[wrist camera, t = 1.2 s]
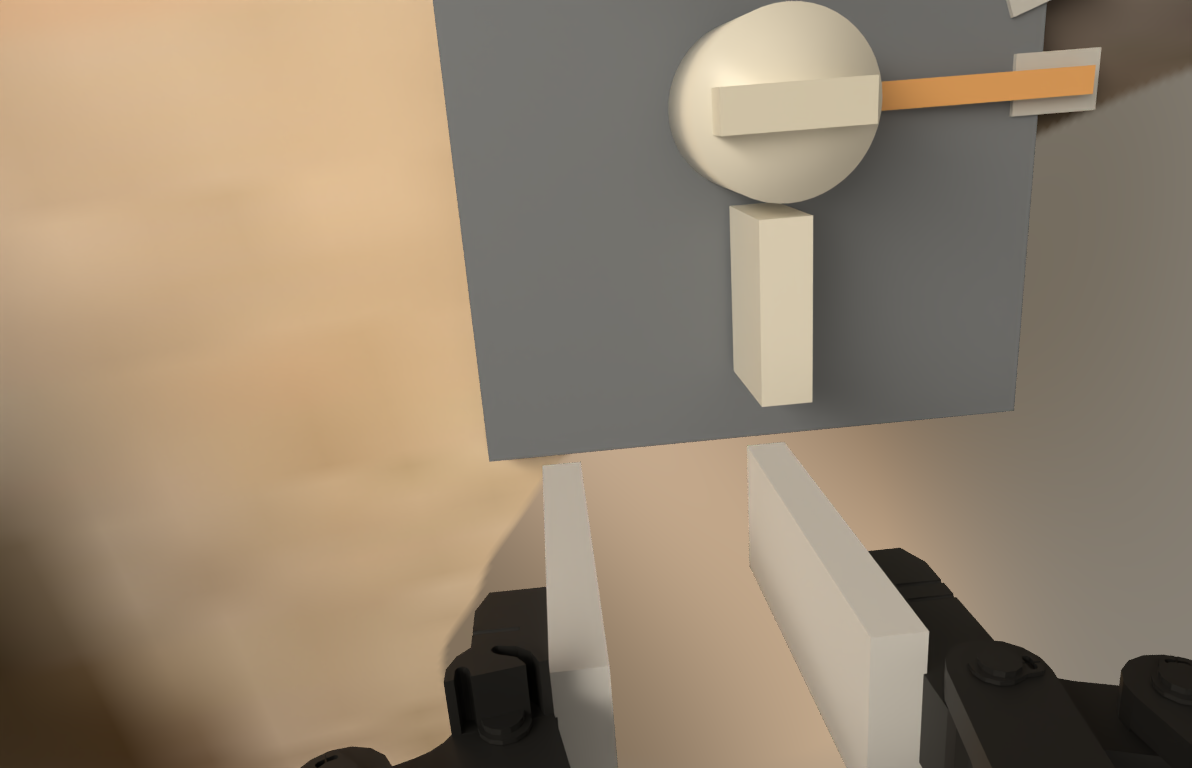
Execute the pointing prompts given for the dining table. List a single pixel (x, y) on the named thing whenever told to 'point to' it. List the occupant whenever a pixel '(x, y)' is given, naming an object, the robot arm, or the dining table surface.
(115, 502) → the dining table surface
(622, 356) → the tuner board
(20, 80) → the dining table surface
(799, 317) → the dial
